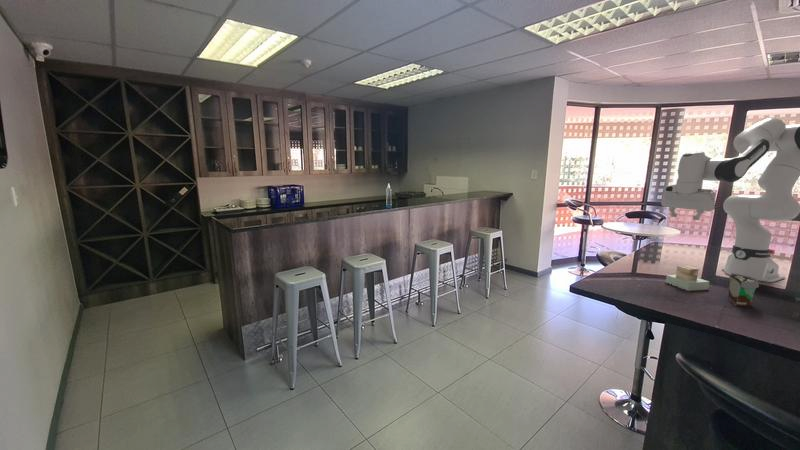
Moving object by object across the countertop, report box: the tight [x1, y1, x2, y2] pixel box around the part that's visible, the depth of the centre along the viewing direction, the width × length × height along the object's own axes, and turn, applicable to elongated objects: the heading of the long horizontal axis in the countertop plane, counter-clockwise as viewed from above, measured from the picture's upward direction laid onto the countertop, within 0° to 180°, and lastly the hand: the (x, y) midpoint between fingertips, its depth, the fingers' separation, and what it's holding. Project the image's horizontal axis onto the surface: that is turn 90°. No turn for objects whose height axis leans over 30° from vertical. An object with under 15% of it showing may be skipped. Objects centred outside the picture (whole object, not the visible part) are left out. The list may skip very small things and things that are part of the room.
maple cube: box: [675, 265, 700, 281], centre depth 139 cm, size 5×5×5 cm
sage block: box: [665, 274, 710, 292], centre depth 140 cm, size 10×10×4 cm
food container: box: [727, 273, 760, 308], centre depth 122 cm, size 12×6×10 cm, turn 148°
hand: (684, 218), depth 146 cm, fingers open, 8 cm apart
